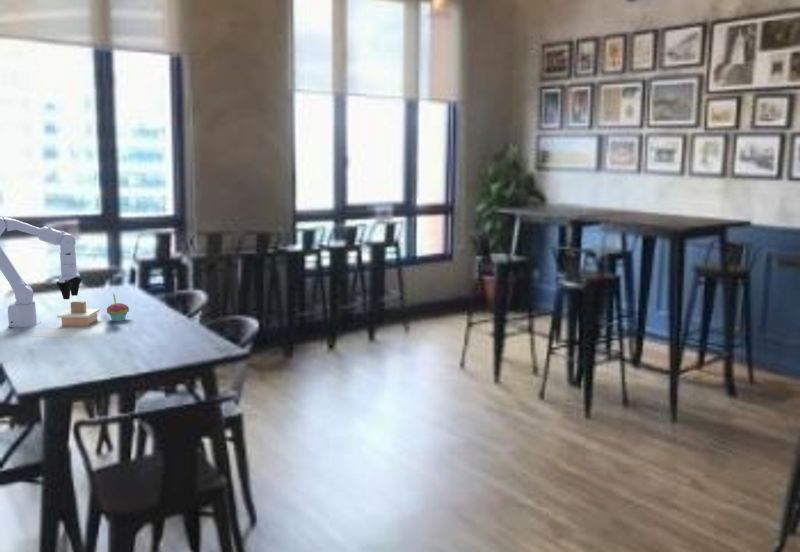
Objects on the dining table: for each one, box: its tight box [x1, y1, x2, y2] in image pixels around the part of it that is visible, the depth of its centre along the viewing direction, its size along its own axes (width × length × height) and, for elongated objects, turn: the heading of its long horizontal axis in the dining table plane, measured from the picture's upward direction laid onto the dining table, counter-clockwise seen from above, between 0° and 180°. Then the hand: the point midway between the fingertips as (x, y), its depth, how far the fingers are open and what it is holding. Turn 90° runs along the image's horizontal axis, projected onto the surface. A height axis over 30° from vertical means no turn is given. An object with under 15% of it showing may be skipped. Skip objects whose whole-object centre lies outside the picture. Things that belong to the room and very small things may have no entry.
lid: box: [56, 301, 101, 319], centre depth 297 cm, size 12×12×5 cm
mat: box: [31, 327, 85, 338], centre depth 283 cm, size 14×14×1 cm
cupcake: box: [106, 293, 130, 322], centre depth 303 cm, size 9×8×12 cm
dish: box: [61, 312, 98, 327], centre depth 298 cm, size 10×10×4 cm
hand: (70, 297), depth 301 cm, fingers open, 7 cm apart
